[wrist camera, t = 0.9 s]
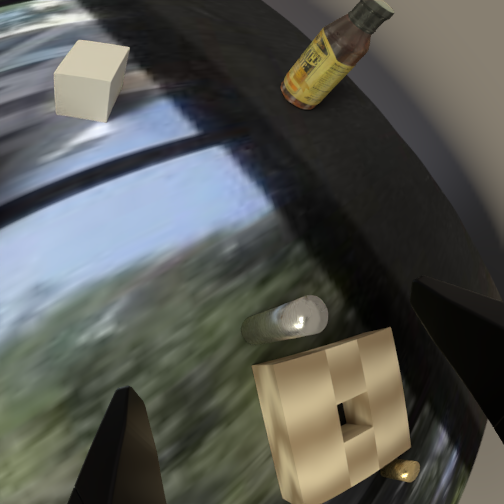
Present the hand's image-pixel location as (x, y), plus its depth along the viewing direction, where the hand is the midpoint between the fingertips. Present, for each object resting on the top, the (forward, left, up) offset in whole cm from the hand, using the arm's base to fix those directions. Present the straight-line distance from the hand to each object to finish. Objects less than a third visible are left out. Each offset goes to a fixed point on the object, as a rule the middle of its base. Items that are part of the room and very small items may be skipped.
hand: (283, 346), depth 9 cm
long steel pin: (+1, -8, -18) cm, 20 cm away
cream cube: (+27, +6, -19) cm, 33 cm away
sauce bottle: (+31, -22, -18) cm, 42 cm away
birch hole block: (-9, -14, -18) cm, 25 cm away
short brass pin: (-19, -21, -18) cm, 34 cm away
